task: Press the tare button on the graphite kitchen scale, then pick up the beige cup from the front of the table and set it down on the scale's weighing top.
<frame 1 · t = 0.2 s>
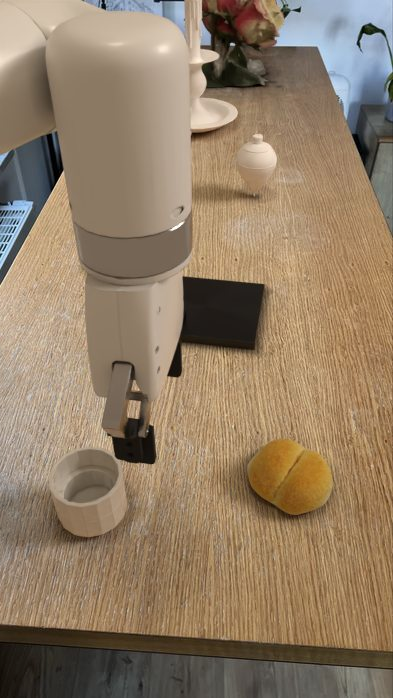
hand: (151, 413, 49), 17 cm above the table, tool pointing down, fingers open, 9 cm apart
scale: (205, 313, 87), on the table
spinning top: (254, 197, 115), on the table
rose bouquet: (227, 74, 172), on the table
candlestick: (193, 129, 141), on the table
pastry: (127, 264, 97), on the table
tare button: (165, 308, 82), point 3 cm above the table, slide at 0.1 cm
beige cup: (93, 509, 62), on the table
bread roll: (287, 483, 65), on the table
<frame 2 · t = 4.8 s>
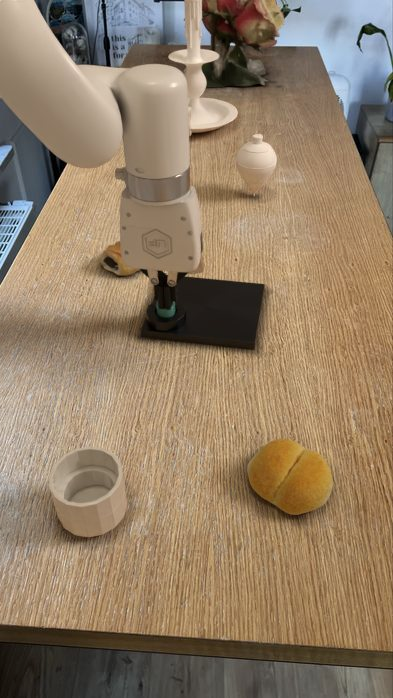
hand: (166, 303, 82), 4 cm above the table, tool pointing down, fingers closed
tare button: (165, 308, 82), point 3 cm above the table, slide at 0.1 cm, touching gripper
everything else where it was.
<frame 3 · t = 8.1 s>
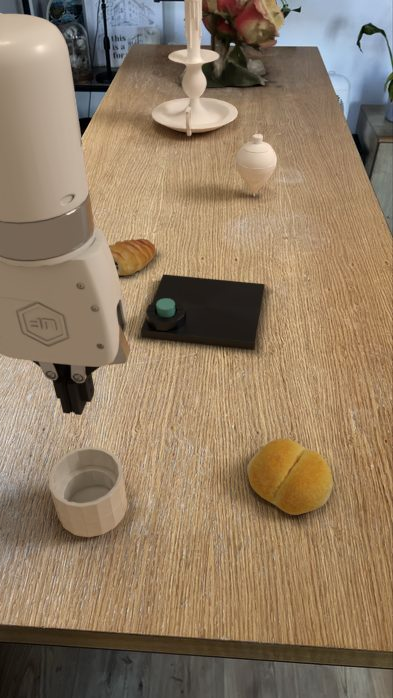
hand: (77, 402, 53), 15 cm above the table, tool pointing down, fingers closed
tare button: (165, 308, 82), point 3 cm above the table, slide at 0.1 cm
everything else where it was.
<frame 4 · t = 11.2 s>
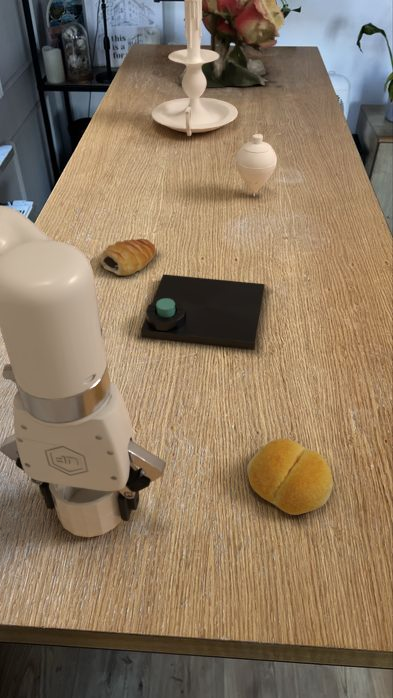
hand: (92, 502, 61), 1 cm above the table, tool pointing down, fingers closed on beige cup, 7 cm apart
beige cup: (93, 509, 62), on the table, touching gripper
everything else where it was.
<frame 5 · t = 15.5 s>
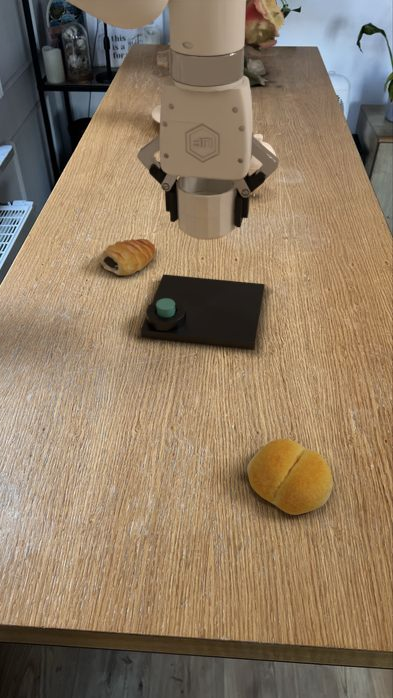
hand: (207, 218, 72), 18 cm above the table, tool pointing down, fingers closed on beige cup, 7 cm apart
beige cup: (207, 227, 73), point 17 cm above the table, touching gripper
everything else where it was.
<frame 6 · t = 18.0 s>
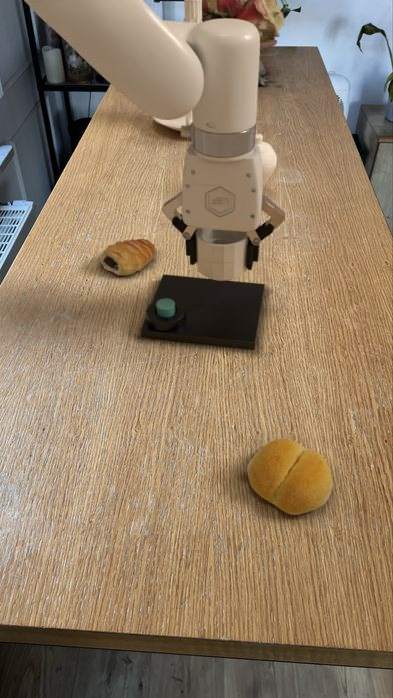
hand: (222, 261, 82), 8 cm above the table, tool pointing down, fingers closed on beige cup, 7 cm apart
beige cup: (222, 268, 83), point 7 cm above the table, touching gripper
everything else where it was.
when the fingers open (3 cm above the table, at t = 20.0 s): beige cup stays where it is, resting on scale.
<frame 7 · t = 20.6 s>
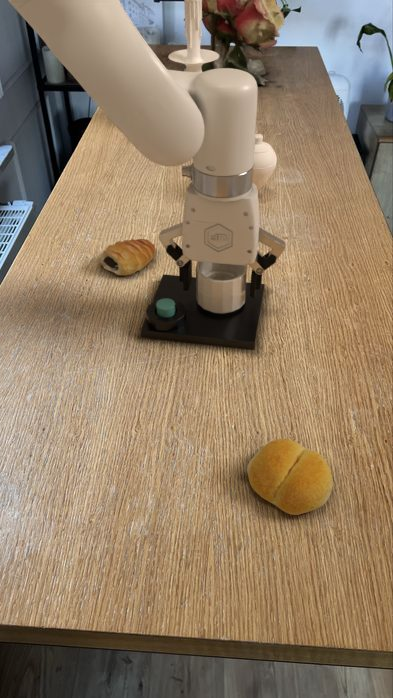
hand: (220, 288, 85), 4 cm above the table, tool pointing down, fingers open, 9 cm apart
beige cup: (220, 301, 87), point 1 cm above the table, touching scale
everything else where it was.
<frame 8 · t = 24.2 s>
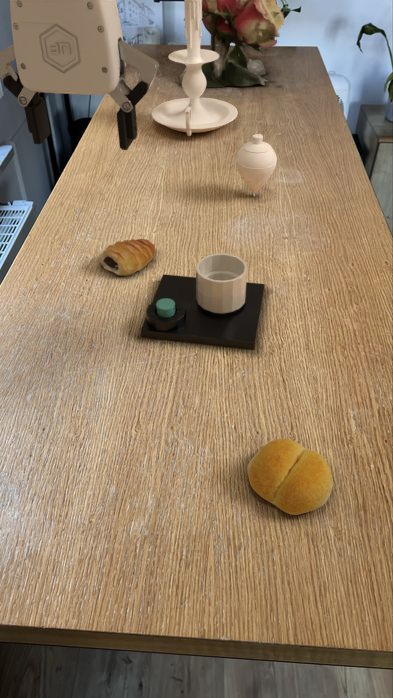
hand: (84, 142, 64), 28 cm above the table, tool pointing down, fingers open, 9 cm apart
nothing on the table moved.
at the end: tare button pushed in 0.9 cm at the most during the clip, back to where it started at the end; beige cup inside the target area on the scale (2.5 cm from its centre), point 1.4 cm above the scale's base; beige cup touching scale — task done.
